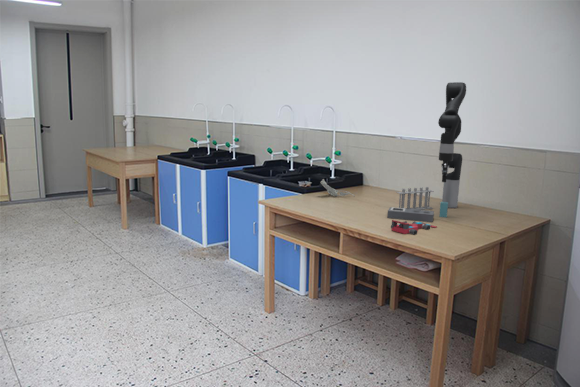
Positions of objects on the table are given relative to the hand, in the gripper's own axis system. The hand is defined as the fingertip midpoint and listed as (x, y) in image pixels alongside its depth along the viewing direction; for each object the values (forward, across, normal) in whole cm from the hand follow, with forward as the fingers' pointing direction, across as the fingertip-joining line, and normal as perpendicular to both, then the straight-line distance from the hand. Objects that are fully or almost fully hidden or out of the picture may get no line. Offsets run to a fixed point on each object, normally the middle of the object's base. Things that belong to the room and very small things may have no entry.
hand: (444, 181), depth 268 cm
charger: (+20, +1, -1) cm, 20 cm away
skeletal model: (+20, +35, +70) cm, 80 cm away
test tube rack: (+20, +13, +16) cm, 29 cm away
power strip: (+20, -11, +16) cm, 28 cm away
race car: (+21, -35, +13) cm, 43 cm away
